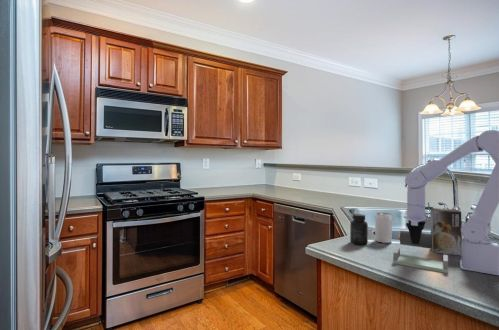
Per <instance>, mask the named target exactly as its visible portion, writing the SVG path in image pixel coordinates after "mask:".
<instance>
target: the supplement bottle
mask: <svg viewBox="0 0 499 330" xmlns="http://www.w3.org/2000/svg"><path fill="white" fill-rule="evenodd" d="M368 226H369V225H368V222H367V221H366V215H365V214H361V213H354V214H352V220H351V221H350V225H349V232H350V235H349V236H350V237H349V238H350V239H349V240H350V241H349V242H350V244H352V245H354V246H362V247H363V246H367V245H368V244H369V243H368V241H369V240H368V239H369V238H368V237H369V233H368V232H369V227H368Z"/></svg>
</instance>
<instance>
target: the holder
mask: <svg viewBox="0 0 499 330" xmlns="http://www.w3.org/2000/svg"><path fill="white" fill-rule="evenodd" d="M392 255H393V256H392V257H393V259H392V263H393V264H394V265H401V266H405V267H406V266H407V267H411V268H417V269H422V270H428V271H433V272H439V273H444V274H448V273H449V254H443V256H442V257H443V261H441V260H437V259H435V260H434V259H430V258H429V259H428V258H423V257H417V256H416V257H415V256H410V255H404V254H401V248H400V247H395V248H394V251H393V253H392Z"/></svg>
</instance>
